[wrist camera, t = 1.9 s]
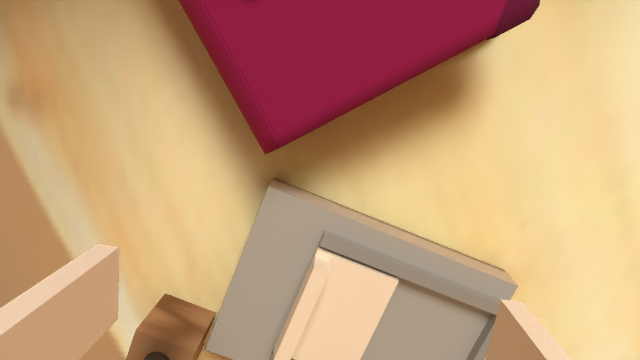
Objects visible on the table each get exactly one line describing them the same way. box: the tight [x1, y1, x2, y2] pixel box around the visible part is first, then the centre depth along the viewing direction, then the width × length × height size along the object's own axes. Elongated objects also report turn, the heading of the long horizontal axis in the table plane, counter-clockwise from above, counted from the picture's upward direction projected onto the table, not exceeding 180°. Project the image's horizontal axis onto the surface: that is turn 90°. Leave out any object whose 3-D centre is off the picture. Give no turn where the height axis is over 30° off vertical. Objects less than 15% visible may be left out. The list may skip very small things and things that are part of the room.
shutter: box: [273, 246, 399, 360], centre depth 34 cm, size 7×10×3 cm
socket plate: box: [205, 178, 518, 360], centre depth 37 cm, size 22×16×4 cm
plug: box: [126, 294, 216, 360], centre depth 36 cm, size 5×4×8 cm
